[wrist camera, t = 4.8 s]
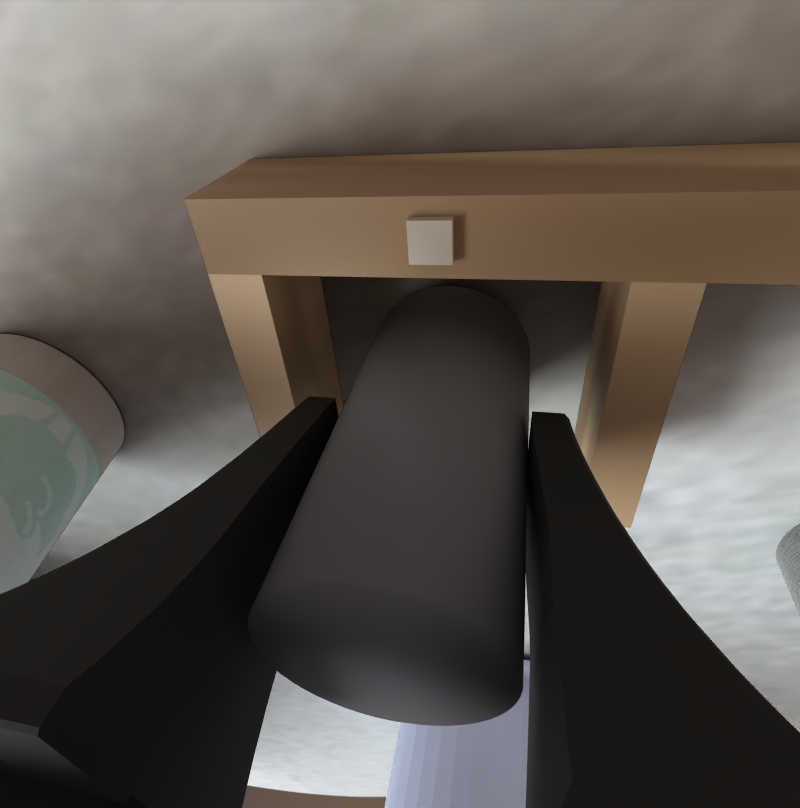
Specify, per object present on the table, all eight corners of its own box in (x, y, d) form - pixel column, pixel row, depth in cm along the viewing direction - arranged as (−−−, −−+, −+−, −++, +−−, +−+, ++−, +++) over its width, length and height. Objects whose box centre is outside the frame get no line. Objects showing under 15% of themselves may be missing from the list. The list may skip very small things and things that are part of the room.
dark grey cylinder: (522, 421, 14) (512, 745, 8) (382, 410, 15) (278, 697, 9) (537, 289, 12) (538, 611, 6) (368, 283, 13) (213, 561, 7)
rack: (952, 472, 13) (1044, 580, 11) (311, 421, 17) (274, 494, 15) (1235, 128, 9) (1515, 186, 6) (250, 159, 12) (178, 203, 10)
